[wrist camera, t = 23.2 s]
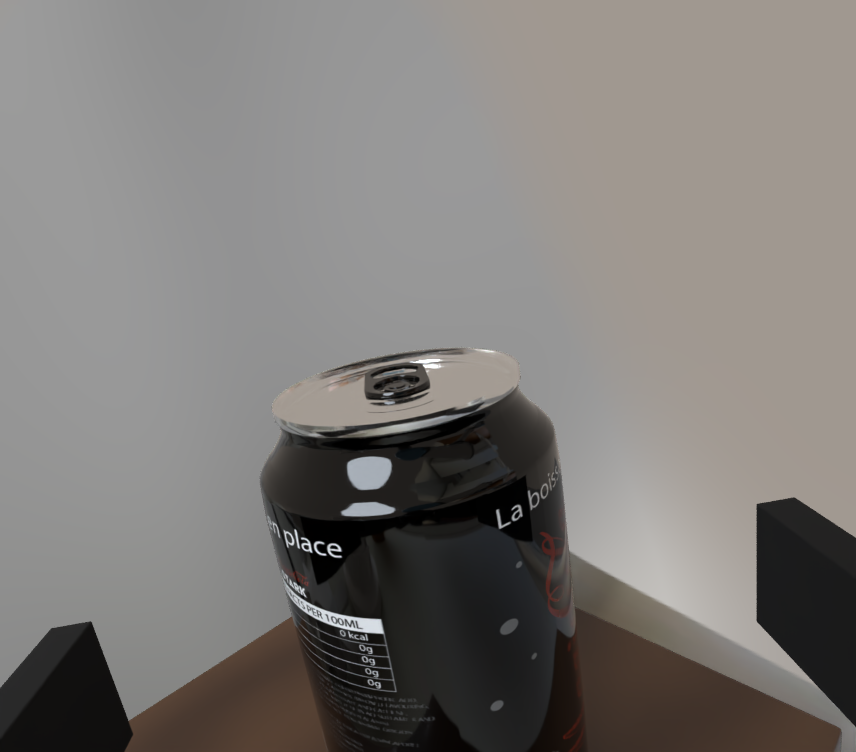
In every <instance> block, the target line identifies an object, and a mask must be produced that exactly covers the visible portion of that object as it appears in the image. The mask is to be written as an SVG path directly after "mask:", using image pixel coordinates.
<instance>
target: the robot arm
mask: <svg viewBox="0 0 856 752" xmlns="http://www.w3.org/2000/svg"><path fill="white" fill-rule="evenodd" d="M757 622H758V623H759V624H760V625H761V626H762V627H763V629H764V630H765V631H766V632H767V633H768V634H769V635H770V636H771V637H772V638H773V639H774V640H775V641H776V642H777V643H778V644H779V645H780V647H781V648H782V649H783V650H784V651H785V652H786V653H787V654H788V655H789V656H790V657H791V658H792V659H793V660H794V662H795V663H796V664H797V665H798V666H799V667H800V668H801V669H802V670H803V671H804V672H805V673H806V674H807V675H808V676H809V678H810V679H811V680H812V681H813V682H814V683H815V684H816V685H817V686H818V687H819V688H820V689H821V690H822V691H823V692H824V694H825V695H826V696H827V697H828V698H829V699H830V700H831V701H832V702H833V703H834V704H835V705H836V706H837V707H838V708H839V710H840V711H841V712H842V713H843V714H844V715H845V716H846V717H847V718H848V719H849V720H850V721H851V722H852V723H853V724H854V725H855V727H856V538H855V537H854V536H852V535H851V534H849V533H847V532H846V531H844V530H843V529H841V528H840V527H838V526H837V525H835V524H834V523H832V522H831V521H829V520H828V519H826V518H825V517H823V516H822V515H820V514H819V513H817V512H816V511H814V510H813V509H811V508H810V507H808V506H807V505H805V504H803V503H802V502H801V501H799V500H797V499H796V498H788V499H783V500H777V501H772V502H766V503H760V504H757ZM132 736H133V732H132V729H131V726H130V724H129V721H128V719H127V716H126V713H125V710H124V708H123V705H122V703H121V700H120V697H119V694H118V692H117V689H116V686H115V684H114V681H113V679H112V676H111V673H110V670H109V668H108V665H107V662H106V660H105V657H104V655H103V651H102V649H101V646H100V644H99V641H98V638H97V636H96V633H95V630H94V627H93V625H92V622H85V623H79V624H74V625H68V626H63V627H57V628H52V629H51V630H50V631H49V632H48V633H47V634H46V635H45V636H44V638H43V639H42V640H41V641H40V642H39V644H38V645H37V646H36V647H35V648H34V649H33V651H32V652H31V653H30V654H29V655H28V656H27V657H26V659H25V660H24V661H23V662H22V663H21V664H20V666H19V667H18V668H17V669H16V670H15V671H14V673H13V674H12V675H11V676H10V677H9V678H8V680H7V681H6V682H5V683H4V684H3V685H2V687H1V688H0V752H125V750H126V748H127V746H128V744H129V742H130V740H131V738H132Z"/></svg>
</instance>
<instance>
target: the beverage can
mask: <svg viewBox="0 0 856 752" xmlns="http://www.w3.org/2000/svg"><path fill="white" fill-rule="evenodd" d="M520 378H521V376H520V368H519V362H518V361H517V360H516V359H515V358H514V357H512V356H511V355H508V354H506V353H503V352H499V351H494V350H489V349H480V348H439V349H426V350H417V351H409V352H402V353H396V354H390V355H385V356H380V357H375V358H370V359H365V360H361V361H357V362H353V363H350V364H346V365H343V366H339V367H337V368H333V369H330V370H327V371H324V372H321V373H319V374H316V375H314V376H312V377H309V378H307V379H304V380H302V381H300V382H298V383H296V384H295V385H293V386H291V387H289V388H288V389H287V390H285V391H284V392H282V393H281V394H280V395H279V396H278V397H277V398H276V399H275V400H274V402H273V405H272V411H273V415H274V419H275V422H276V423H277V424H278V425H279V426H280V429H281V433H280V436H279V439H278V441H277V443H276V445H275V447H274V448H273V450H272V451H271V453H270V454H269V456H268V458H267V459H266V461H265V463H264V465H263V467H262V470H261V474H260V487H261V493H262V498H263V503H264V508H265V514H266V518H267V522H268V526H269V530H270V534H271V537H272V541H273V545H274V549H275V553H276V557H277V560H278V564H279V568H280V572H281V576H282V580H283V583H284V587H285V591H286V595H287V598H288V602H289V607H290V610H291V614H292V618H293V622H294V626H295V630H296V633H297V637H298V641H299V645H300V649H301V653H302V656H303V660H304V664H305V668H306V672H307V676H308V679H309V683H310V687H311V691H312V695H313V699H314V702H315V706H316V710H317V714H318V718H319V722H320V726H321V729H322V733H323V737H324V741H325V745H326V749H327V752H588V742H587V730H586V718H585V706H584V695H583V685H582V675H581V665H580V656H579V646H578V636H577V626H576V616H575V606H574V596H573V586H572V576H571V566H570V556H569V546H568V536H567V526H566V517H565V506H564V496H563V486H562V476H561V466H560V458H559V452H558V446H557V440H556V434H555V429H554V426H553V423H552V421H551V420H550V418H549V417H548V416H547V414H545V412H544V411H542V410H541V409H540V408H539V407H538V406H537V405H535V404H534V403H533V402H531V401H530V400H528V399H527V398H526V397H525V395H524V394H523V393H522V392H521V391H520V389H519V387H518V383H519V380H520Z"/></svg>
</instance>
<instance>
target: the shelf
mask: <svg viewBox="0 0 856 752" xmlns="http://www.w3.org/2000/svg"><path fill="white" fill-rule="evenodd" d="M575 616H576V626H577V636H578V646H579V656H580V665H581V675H582V685H583V695H584V706H585V718H586V730H587V742H588V752H841V737H842V732H841V729H840V728H839V727H837V726H834V725H832V724H830V723H828V722H826V721H823V720H821V719H819V718H817V717H815V716H812V715H810V714H808V713H806V712H804V711H802V710H799V709H797V708H795V707H793V706H791V705H788V704H786V703H784V702H782V701H780V700H777V699H775V698H773V697H771V696H769V695H767V694H764V693H762V692H760V691H758V690H756V689H753V688H751V687H749V686H747V685H745V684H742V683H740V682H738V681H736V680H734V679H732V678H729V677H727V676H725V675H723V674H721V673H718V672H716V671H714V670H712V669H710V668H707V667H705V666H703V665H701V664H699V663H696V662H694V661H692V660H690V659H688V658H686V657H683V656H681V655H679V654H677V653H675V652H672V651H670V650H668V649H666V648H664V647H661V646H659V645H657V644H655V643H653V642H651V641H648V640H646V639H644V638H642V637H640V636H637V635H635V634H633V633H631V632H629V631H626V630H624V629H622V628H620V627H618V626H616V625H613V624H611V623H609V622H607V621H605V620H602V619H600V618H598V617H596V616H594V615H591V614H589V613H587V612H585V611H583V610H580V609H578V608H576V607H575ZM129 724H130V726H131V729H132V732H133V736H132V738H131V740H130V742H129V744H128V746H127V748H126V750H125V752H327V749H326V745H325V741H324V737H323V733H322V729H321V726H320V722H319V718H318V714H317V710H316V706H315V702H314V699H313V695H312V691H311V687H310V683H309V679H308V676H307V672H306V668H305V664H304V660H303V656H302V653H301V649H300V645H299V641H298V637H297V633H296V630H295V626H294V622H293V618H292V617H290V618H289V619H287V620H286V621H284V622H282V623H281V624H279V625H278V626H276V627H275V628H273V629H272V630H270V631H269V632H267V633H266V634H264V635H262V636H261V637H259V638H257V639H256V640H254V641H253V642H251V643H250V644H248V645H247V646H245V647H244V648H242V649H240V650H239V651H237V652H236V653H234V654H233V655H231V656H229V657H228V658H226V659H225V660H223V661H222V662H220V663H219V664H217V665H215V666H214V667H212V668H211V669H209V670H208V671H206V672H204V673H203V674H201V675H200V676H198V677H197V678H195V679H193V680H192V681H191V682H189V683H187V684H186V685H184V686H183V687H181V688H180V689H178V690H176V691H175V692H173V693H172V694H170V695H168V696H167V697H165V698H164V699H162V700H161V701H159V702H158V703H156V704H154V705H153V706H151V707H150V708H148V709H147V710H145V711H143V712H142V713H141V714H139V715H137V716H136V717H134V718H133V719H131V720H129Z"/></svg>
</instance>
